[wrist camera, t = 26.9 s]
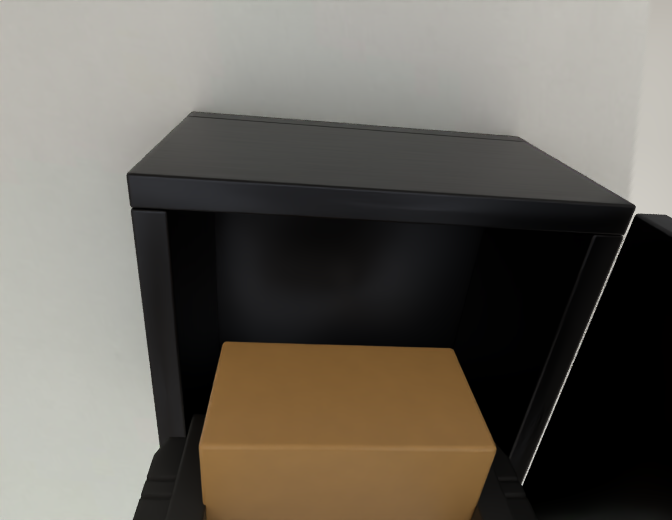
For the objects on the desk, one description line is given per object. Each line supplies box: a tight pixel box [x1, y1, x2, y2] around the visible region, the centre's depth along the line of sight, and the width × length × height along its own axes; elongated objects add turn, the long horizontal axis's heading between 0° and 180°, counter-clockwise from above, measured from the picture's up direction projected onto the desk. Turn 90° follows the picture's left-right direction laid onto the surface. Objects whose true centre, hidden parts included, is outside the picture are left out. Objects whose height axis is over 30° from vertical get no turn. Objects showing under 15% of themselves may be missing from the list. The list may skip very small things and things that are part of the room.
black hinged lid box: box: [126, 112, 636, 484], centre depth 16 cm, size 12×13×7 cm
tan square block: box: [199, 341, 496, 520], centre depth 11 cm, size 6×6×3 cm
